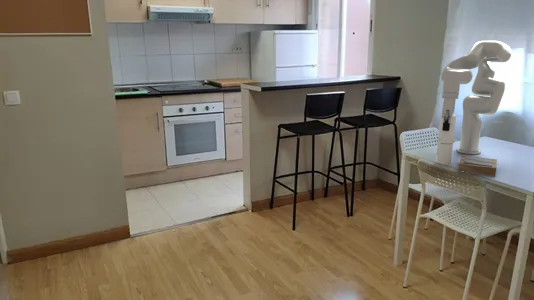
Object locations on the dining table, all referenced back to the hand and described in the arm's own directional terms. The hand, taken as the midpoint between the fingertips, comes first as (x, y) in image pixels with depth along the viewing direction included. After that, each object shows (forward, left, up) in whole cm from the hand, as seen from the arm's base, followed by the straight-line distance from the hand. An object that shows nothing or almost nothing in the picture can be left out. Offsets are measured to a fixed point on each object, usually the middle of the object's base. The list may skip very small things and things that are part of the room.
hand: (446, 128), depth 211 cm
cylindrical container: (0, 0, -18) cm, 18 cm away
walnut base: (+5, +16, -18) cm, 25 cm away
